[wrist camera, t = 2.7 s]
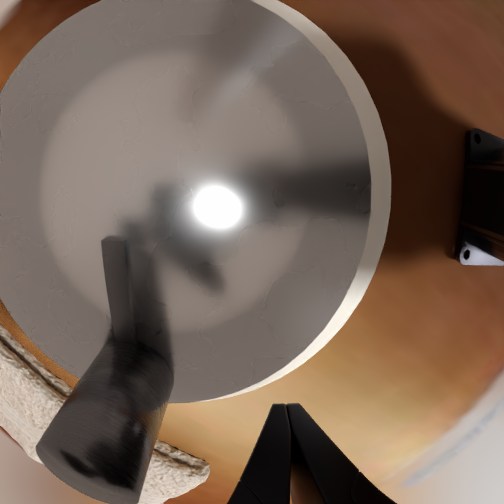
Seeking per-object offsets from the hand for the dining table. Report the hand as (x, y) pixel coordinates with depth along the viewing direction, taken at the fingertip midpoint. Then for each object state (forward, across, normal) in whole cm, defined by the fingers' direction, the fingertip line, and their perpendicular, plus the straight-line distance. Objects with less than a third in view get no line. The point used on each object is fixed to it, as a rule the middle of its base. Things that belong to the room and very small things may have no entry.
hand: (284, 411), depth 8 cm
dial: (+3, +5, -6) cm, 9 cm away
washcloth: (+5, +14, +10) cm, 18 cm away
